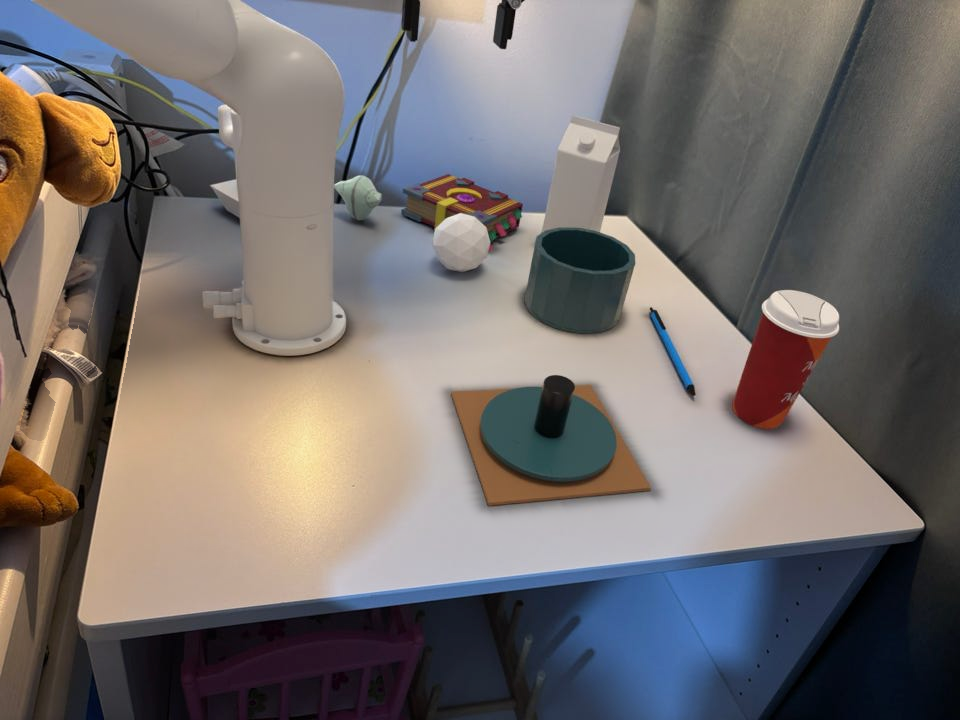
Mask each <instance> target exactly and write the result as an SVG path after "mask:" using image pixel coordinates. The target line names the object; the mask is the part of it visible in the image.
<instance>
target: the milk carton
mask: <svg viewBox="0 0 960 720" xmlns="http://www.w3.org/2000/svg"><path fill="white" fill-rule="evenodd" d="M620 131H621V127H619V126H615V125H612V124H607V123H605V122H604V123H603V122H600V121H597V120H593V119H588V118H586V117H582V116H577V115H574V114H572V115H571V116H570V122H569V124H568V126H567V128H566V131H565V133H564V135H563V137H562V139H561V141H560V143H559V146H558V148H557V152H556V157H555V161H554V167H553V171H552V178H551V183H550V188H549V193H548V198H547V202H546V208H545V213H544V218H543V224H542V229H541V233H542V232H544V231H545V230H550V229H554V228H559V227H567V228H583V229H588V230H594V231H597V232H600V233H601V230H602V225H603V221H604V217H605V213H606V210H607V205H608V202H609V197H610V194H611V189H612V186H613V181H614V177H615V173H616V169H617V164H618V161H619V157H620V153H621V145H620V138H619V134H620Z"/></svg>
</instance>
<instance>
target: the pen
mask: <svg viewBox="0 0 960 720" xmlns="http://www.w3.org/2000/svg"><path fill="white" fill-rule="evenodd" d="M649 316H650V318H651V319H652V321H653V323H654V325H655V328H656V329H657V332H658V333H659V336H660V337H661V339H662V341H663V342H662V343H664V346H665V348H666V349H667V352H668V354H669V356H670V358H671V360H672V362H673V364H674V367H675V368H676V370H677V372H678V374H679V376H680V379H681V380H682V382H683V385H684V386H685V388H686V390H687V391H688V392H689V393H690V394H691V395H692V397H694V398H696V397H697V396H696V395H697V394H696V388H695V385H694V383H693V381H692V378H691V377H690V375H689V373H688V370H687V369H686V367H685V365H684V363H683V361H682V358H681V357H680V355H679V353H678V351H677V350H676V347H675V345H674V343H673V341H672V338H671V337H670V336H669V333H668V331H667V328H666V326H665V323H664V322H663V319H662V318H661V316H660V314H659V311H658V310H656V309H654V308H653V307H652V306H651V307H649Z"/></svg>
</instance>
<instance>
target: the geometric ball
mask: <svg viewBox="0 0 960 720" xmlns="http://www.w3.org/2000/svg"><path fill="white" fill-rule="evenodd" d="M431 244H432V248H433V251H434V255H435V258H436V260H437V261H438V262H439V263H441V264H442V265H443V266H444V267H445V268H446V269H447V270H449V271H454V272H458V273H464V272H468V271H470V270H473V269H476V268H478V267H479V266H480V265H481V264H482V263H483V262H484V261H485V260H486V259H487V258H488V254H489V252H490V251H489V247H490V244H491V242H490V239H489V235H488V232H487V228H486V227H485V226H484V225H483V224H482V223H481V222H480V221H479V220H478V219H477V218H476V217H474V216H470V215H466V214H462V213H459V214H457V215H454V216H451V217H449V218H446V219H445V220H444V221H443V222H442V223H441V224H440V225H439V226H438V227H437V228H436V229H435V230H434V232H433V238H432V243H431Z"/></svg>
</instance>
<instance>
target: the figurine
mask: <svg viewBox="0 0 960 720" xmlns="http://www.w3.org/2000/svg"><path fill="white" fill-rule="evenodd" d="M217 125H218V134H219V138H220V140H221V142H222V143H223V145H224V146H227V147H229V148H231V149H232V150H233V154H234V166H235V179H231V180H227V181H222V182H218V183H213V184H209V186H210V188H211V189H212V191H213V192H214V193H215V195H216V196H217V198H218V199H219V201H220V203H221V204H222V206H223V207H224V209H225V210H226V211H227V212H229V213H231V214H233V215H234V216H236V218H239V219H240V213H239V200H238V189H237V160H238V153H239V147H240V142H241V136H242V121H241V117H240V116H239V115H238V114H237V113H236V112H234V110H232V109H231V108H230V107H228V106H227V105H226V104H221V105H219V106H218V107H217Z"/></svg>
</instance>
